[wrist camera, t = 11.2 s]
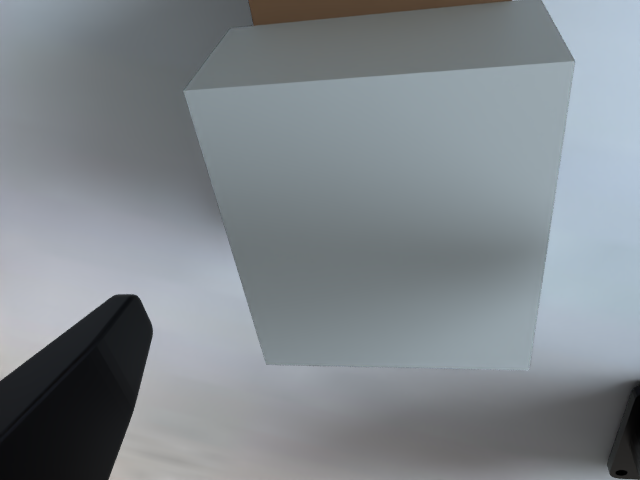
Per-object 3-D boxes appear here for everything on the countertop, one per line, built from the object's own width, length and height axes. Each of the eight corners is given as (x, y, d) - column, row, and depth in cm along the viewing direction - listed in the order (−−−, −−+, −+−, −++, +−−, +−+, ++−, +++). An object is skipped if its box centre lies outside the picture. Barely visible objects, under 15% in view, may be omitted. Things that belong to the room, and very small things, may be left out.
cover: (511, 277, 15) (529, 370, 12) (288, 279, 16) (266, 364, 14) (540, -3, 10) (575, 60, 8) (230, 28, 12) (183, 90, 9)
